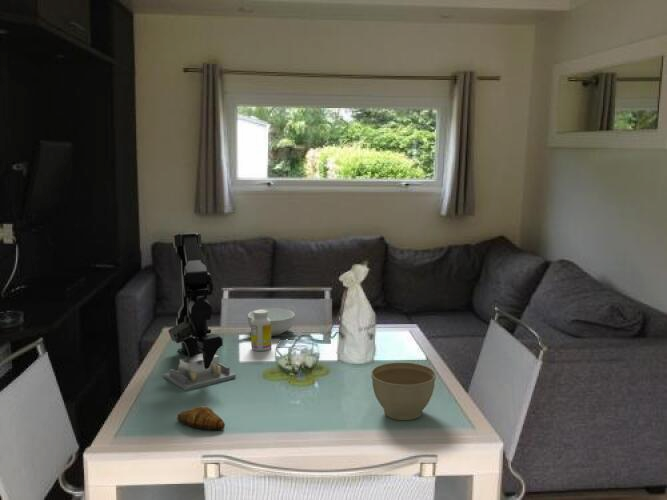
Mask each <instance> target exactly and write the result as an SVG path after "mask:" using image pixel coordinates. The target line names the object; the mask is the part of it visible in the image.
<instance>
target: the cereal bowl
mask: <svg viewBox="0 0 667 500" xmlns="http://www.w3.org/2000/svg"><path fill="white" fill-rule="evenodd" d="M256 310H257V309H256ZM256 310H253V311H250V312H249V313H248V314H247V322H248V325H249V327H250V328H251V320H252V319H253V318H254V315H253V312H254V311H256ZM259 310H266V311H268V315H267V318H269V319H270V321H271V337H273V336H274V337H275V336H278V335H281V334H282V333H284V332H287V331H289V330H290V329H291V328H292V327H293V326H294V322H295V316H296V314H295V313H294V312H293V311H291V310H290V309H289V310H288V309H283V308H262V309H259Z"/></svg>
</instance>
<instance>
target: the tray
mask: <svg viewBox="0 0 667 500" xmlns="http://www.w3.org/2000/svg"><path fill="white" fill-rule="evenodd" d="M177 368H178V370H176V369H173V368H169V370H168V371H169V372H165V373H163V377H164V378H165V379H166V380H168V381H170V382H171V383H173V384H174V385H176V386H178V387H179V388H180V389H182V390H184V391H185V392H186V391H190V390H194V389H197V388H201V387H206V386H209V385H214V384H217V383H220V382H224V381H228V380H233V379H236V378H237V377H236V373H234V372H232V371H230V370H231V369H230V367H229V366H227V365H225V364H223V362H222V363H221V362H220V361H219V366H217V367H216V373H215V374H211V375H207V376H203V377H200V378H196V372H191V380H187V377H185V376H184V375H182V374H180V364H178V367H177Z"/></svg>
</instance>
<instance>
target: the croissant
mask: <svg viewBox="0 0 667 500" xmlns="http://www.w3.org/2000/svg"><path fill="white" fill-rule="evenodd" d="M176 419H177V421H178V422H180V423H181V424H183V425H184V426H185V425H186V426H189V427H192V428H194V429H202V430H209V431H221V430H224V429H225V425H226V423H225V422H224V421H223V419H222V418H221V417H220V416H219V415H218V414H216V413H215V412H214V410H213V409H212V408H210V407H207V406H198V407H194V408H192V409H188V410H184V411H181V412H179V413H178V414H177V415H176Z"/></svg>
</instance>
